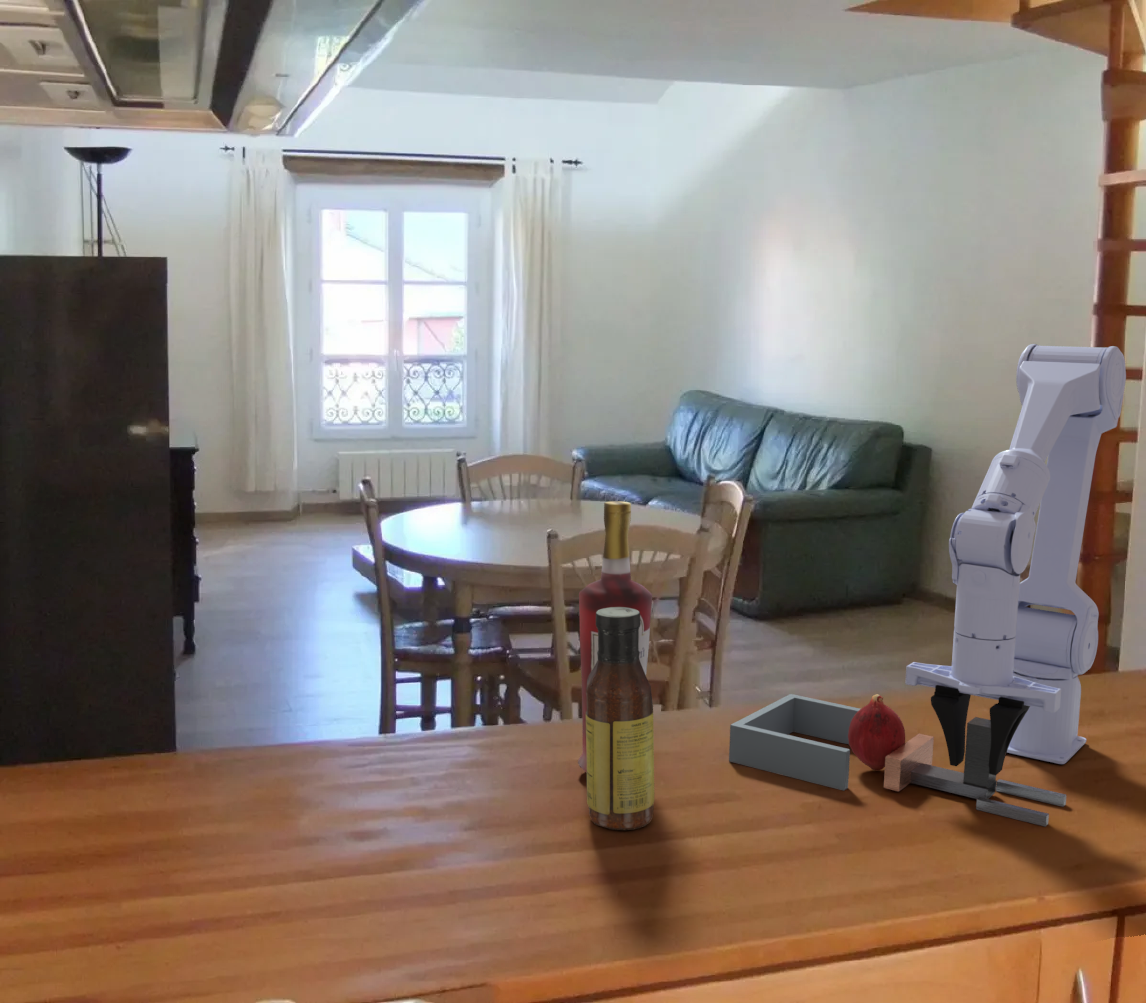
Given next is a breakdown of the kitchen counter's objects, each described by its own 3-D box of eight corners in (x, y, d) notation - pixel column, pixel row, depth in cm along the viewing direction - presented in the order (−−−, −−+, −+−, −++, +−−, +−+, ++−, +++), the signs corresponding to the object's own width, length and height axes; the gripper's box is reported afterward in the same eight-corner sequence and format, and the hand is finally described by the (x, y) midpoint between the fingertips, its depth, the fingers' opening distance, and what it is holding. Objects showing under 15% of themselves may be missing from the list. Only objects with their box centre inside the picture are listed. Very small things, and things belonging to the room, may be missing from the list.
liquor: (631, 759, 131) (638, 497, 127) (658, 784, 124) (666, 507, 120) (566, 765, 128) (570, 499, 124) (589, 791, 122) (595, 510, 117)
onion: (904, 781, 125) (904, 704, 124) (846, 778, 126) (846, 701, 126) (905, 763, 130) (905, 689, 130) (850, 760, 132) (849, 686, 131)
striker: (917, 762, 130) (921, 695, 129) (1005, 783, 125) (1010, 713, 124) (883, 787, 123) (887, 717, 122) (975, 810, 118) (980, 737, 117)
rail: (998, 788, 124) (999, 779, 124) (1065, 804, 120) (1066, 794, 120) (976, 809, 119) (976, 799, 119) (1045, 826, 115) (1046, 816, 115)
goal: (788, 727, 142) (790, 693, 141) (897, 752, 134) (899, 717, 134) (728, 761, 131) (730, 724, 130) (843, 790, 123) (845, 752, 122)
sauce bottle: (661, 812, 117) (667, 607, 114) (643, 838, 111) (649, 622, 108) (595, 802, 119) (599, 600, 116) (574, 827, 113) (578, 615, 110)
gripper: (897, 629, 121) (889, 762, 123) (1050, 654, 113) (1039, 797, 115) (923, 615, 127) (915, 743, 129) (1070, 639, 118) (1060, 775, 120)
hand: (975, 767), depth 122 cm, fingers open, 3 cm apart
